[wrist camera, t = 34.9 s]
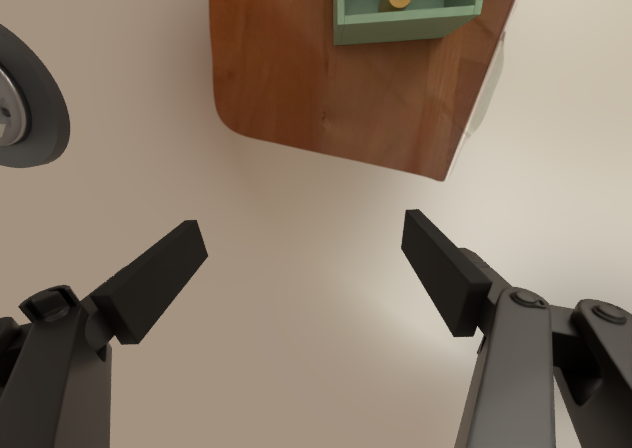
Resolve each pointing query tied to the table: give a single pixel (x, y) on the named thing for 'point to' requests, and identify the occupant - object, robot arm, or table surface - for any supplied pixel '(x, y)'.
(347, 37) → the bin
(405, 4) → the peg
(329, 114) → the table surface
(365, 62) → the table surface
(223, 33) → the table surface
